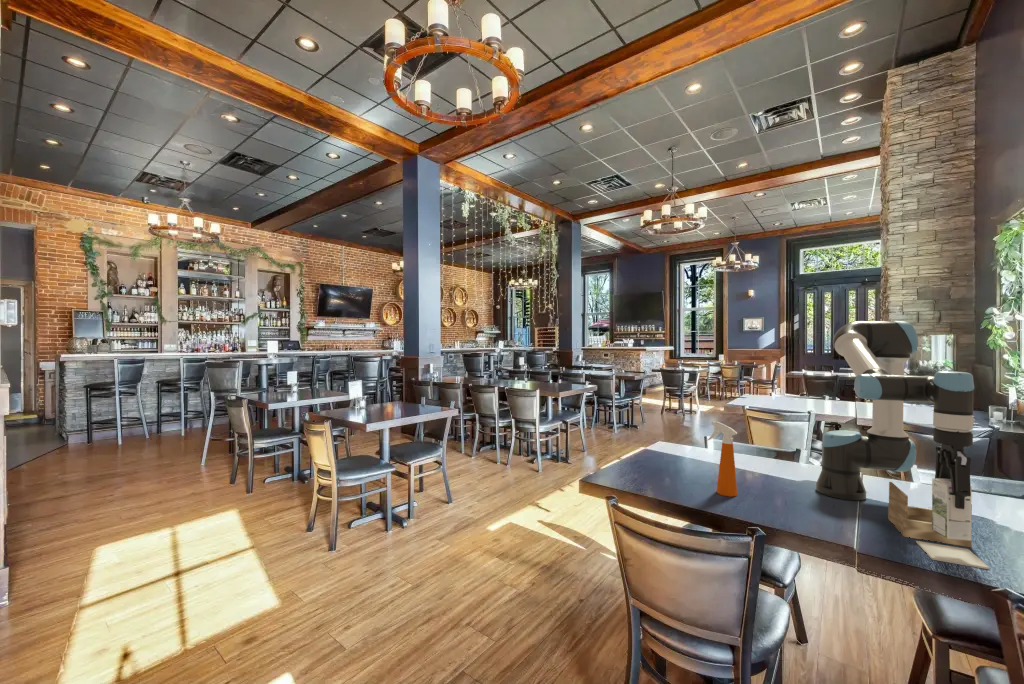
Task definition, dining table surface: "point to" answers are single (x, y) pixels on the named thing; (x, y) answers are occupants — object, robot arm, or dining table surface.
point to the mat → (951, 554)
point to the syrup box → (948, 512)
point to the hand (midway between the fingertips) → (951, 515)
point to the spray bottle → (726, 461)
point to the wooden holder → (915, 519)
